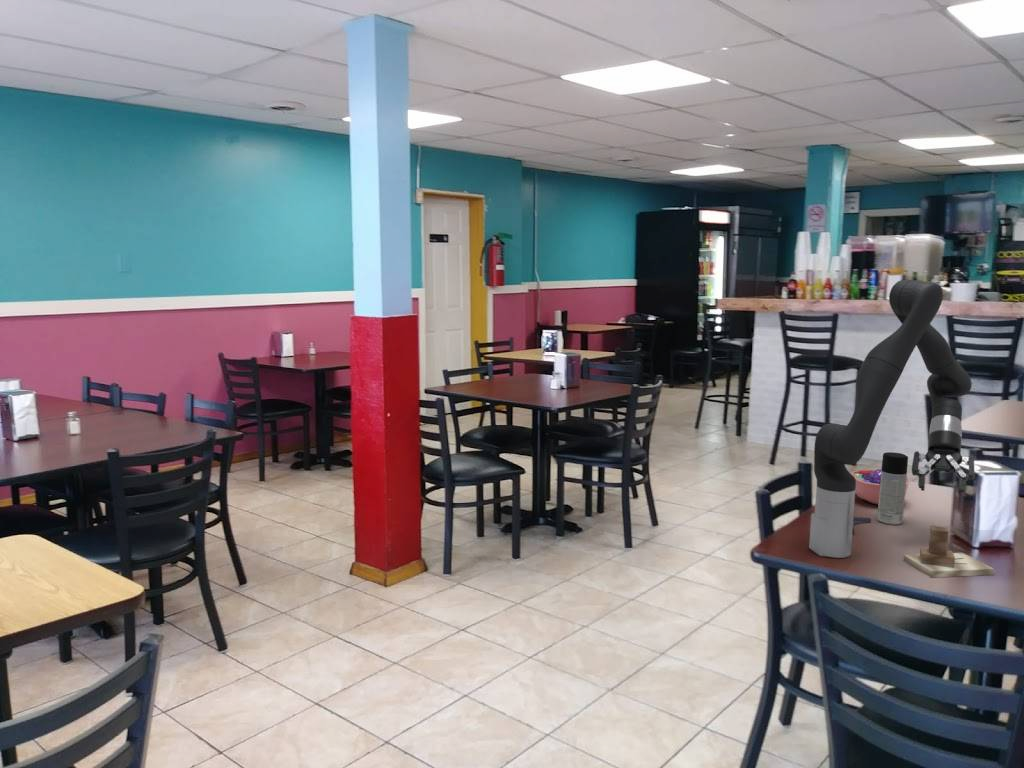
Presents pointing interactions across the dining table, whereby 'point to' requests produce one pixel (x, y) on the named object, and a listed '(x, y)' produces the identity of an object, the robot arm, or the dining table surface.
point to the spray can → (892, 488)
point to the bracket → (860, 521)
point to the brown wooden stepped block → (937, 549)
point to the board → (962, 567)
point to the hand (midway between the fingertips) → (941, 491)
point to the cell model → (870, 484)
